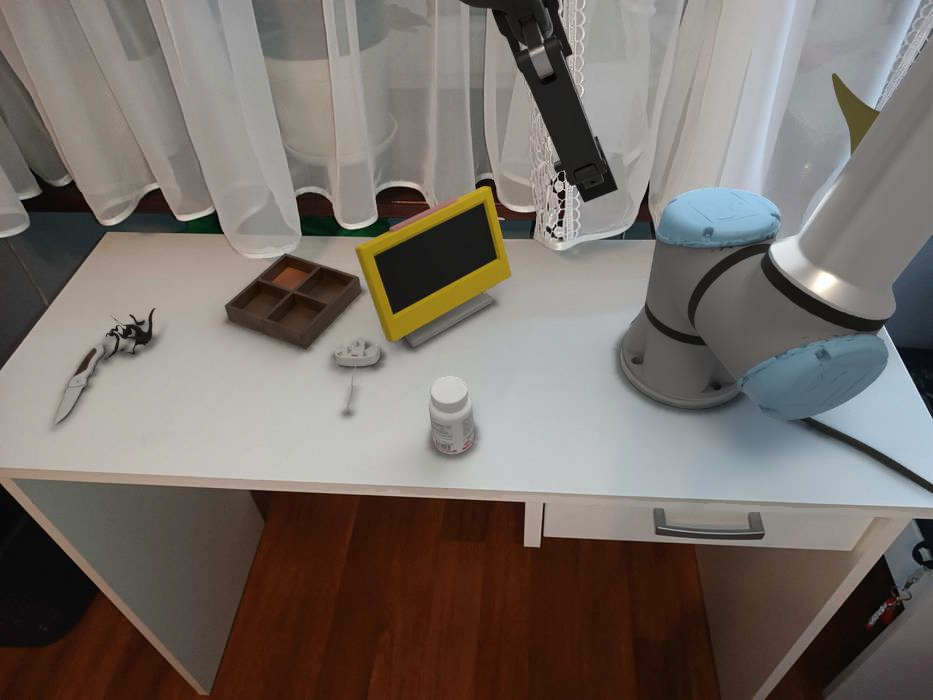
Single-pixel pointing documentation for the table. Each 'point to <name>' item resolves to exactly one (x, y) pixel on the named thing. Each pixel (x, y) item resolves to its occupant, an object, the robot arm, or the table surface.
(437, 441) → the pill bottle
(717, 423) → the table surface
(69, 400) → the pocket knife
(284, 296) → the grid
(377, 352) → the game controller
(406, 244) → the yellow framed monitor
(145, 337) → the creature
